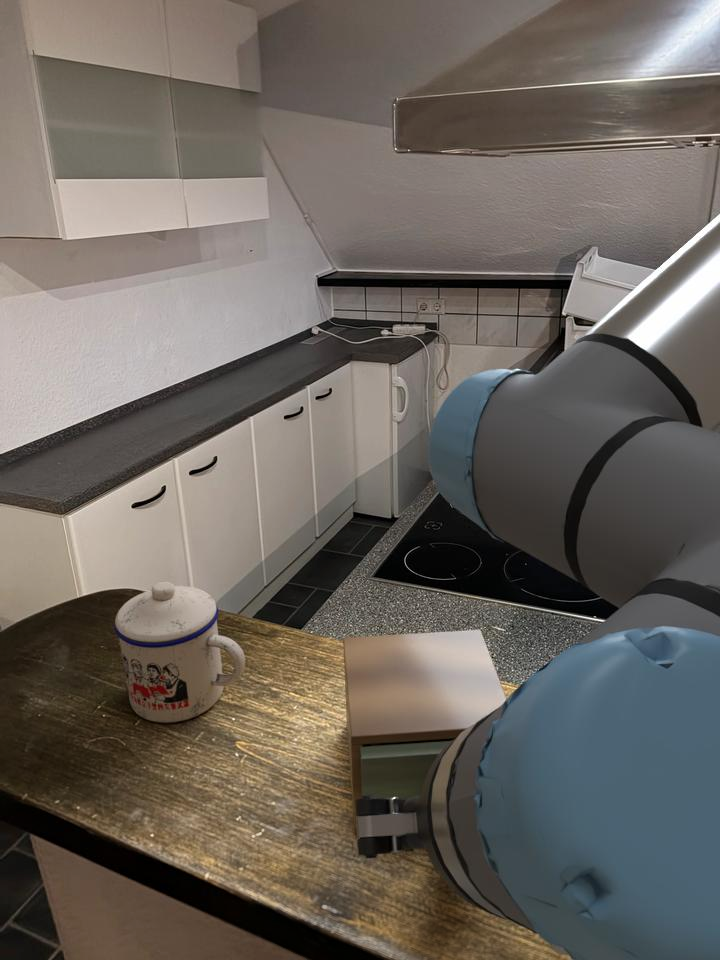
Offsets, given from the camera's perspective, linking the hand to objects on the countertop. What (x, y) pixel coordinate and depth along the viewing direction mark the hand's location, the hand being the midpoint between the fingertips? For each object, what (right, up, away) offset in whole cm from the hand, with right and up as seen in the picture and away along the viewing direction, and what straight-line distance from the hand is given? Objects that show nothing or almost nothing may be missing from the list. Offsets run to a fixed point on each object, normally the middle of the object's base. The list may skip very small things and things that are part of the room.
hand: (442, 823), depth 51 cm
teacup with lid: (-21, +2, +20) cm, 29 cm away
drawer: (0, -1, +8) cm, 8 cm away
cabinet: (0, -1, +11) cm, 11 cm away
